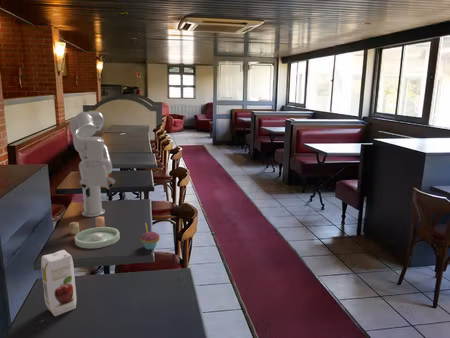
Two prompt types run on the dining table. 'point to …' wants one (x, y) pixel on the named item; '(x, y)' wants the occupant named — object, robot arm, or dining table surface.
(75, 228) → the maple bead
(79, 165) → the robot arm
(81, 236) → the groove tray
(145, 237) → the cupcake
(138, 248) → the dining table surface
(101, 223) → the terracotta bead
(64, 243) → the dining table surface
